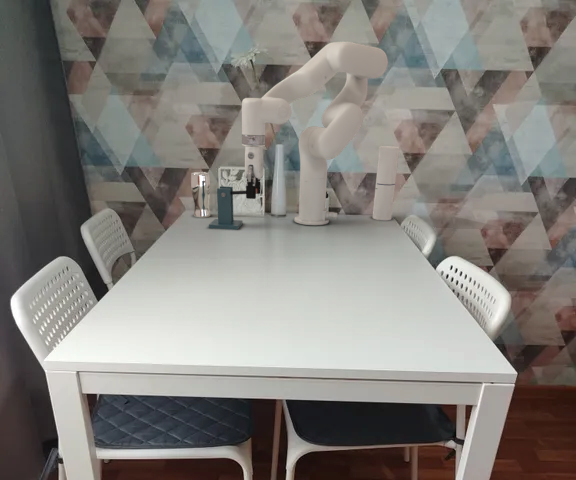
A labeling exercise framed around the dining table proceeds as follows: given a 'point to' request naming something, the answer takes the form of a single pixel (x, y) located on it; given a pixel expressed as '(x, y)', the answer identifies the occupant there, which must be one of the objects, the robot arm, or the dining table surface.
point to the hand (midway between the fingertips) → (253, 196)
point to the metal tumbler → (201, 193)
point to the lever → (239, 192)
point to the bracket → (225, 210)
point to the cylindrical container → (385, 182)
